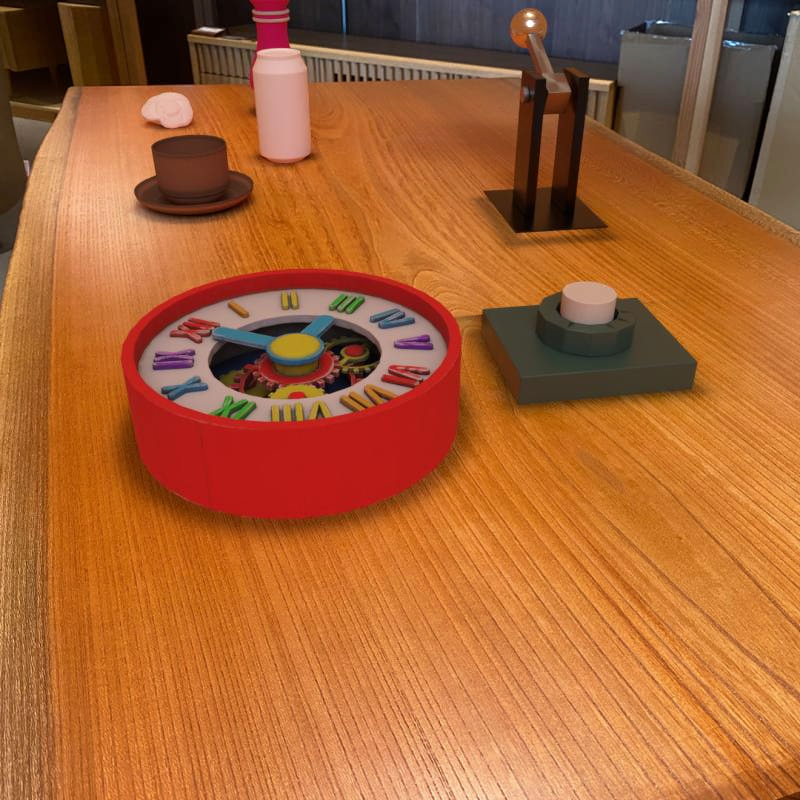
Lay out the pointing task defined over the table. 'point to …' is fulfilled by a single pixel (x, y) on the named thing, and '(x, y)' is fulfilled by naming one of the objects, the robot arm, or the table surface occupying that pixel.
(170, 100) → the spiral seashell
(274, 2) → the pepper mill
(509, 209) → the bracket
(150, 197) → the cup and saucer
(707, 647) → the table surface
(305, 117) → the beverage can
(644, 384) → the button box
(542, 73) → the lever
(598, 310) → the button
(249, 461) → the toy clock
